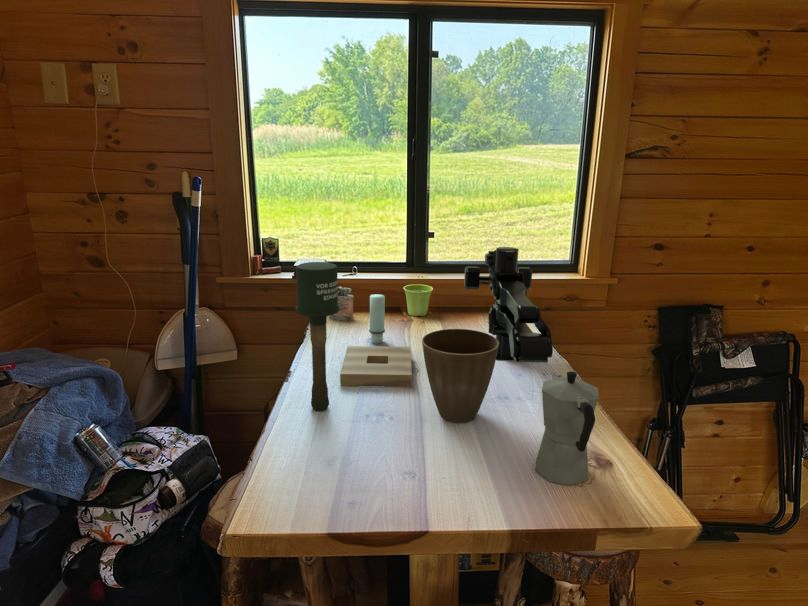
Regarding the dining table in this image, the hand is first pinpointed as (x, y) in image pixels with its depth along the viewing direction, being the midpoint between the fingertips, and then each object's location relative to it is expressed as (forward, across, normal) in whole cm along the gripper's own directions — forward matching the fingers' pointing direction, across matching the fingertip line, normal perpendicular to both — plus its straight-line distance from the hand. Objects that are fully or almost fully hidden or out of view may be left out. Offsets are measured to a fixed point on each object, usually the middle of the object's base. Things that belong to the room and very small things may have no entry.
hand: (492, 271), depth 167 cm
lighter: (+6, +45, +17) cm, 49 cm away
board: (-37, +33, +17) cm, 52 cm away
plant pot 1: (+11, +21, +17) cm, 29 cm away
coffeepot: (-80, +1, +18) cm, 82 cm away
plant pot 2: (-59, +17, +17) cm, 64 cm away
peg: (-16, +34, +17) cm, 41 cm away
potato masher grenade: (-56, +45, +17) cm, 74 cm away
